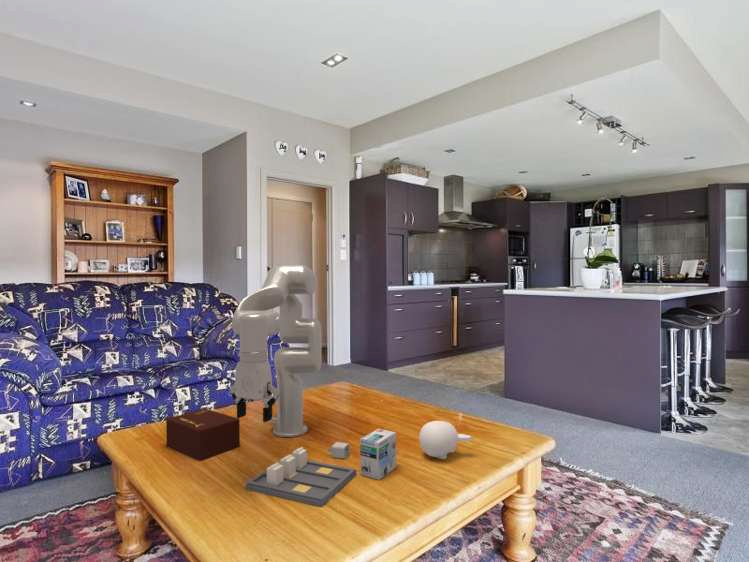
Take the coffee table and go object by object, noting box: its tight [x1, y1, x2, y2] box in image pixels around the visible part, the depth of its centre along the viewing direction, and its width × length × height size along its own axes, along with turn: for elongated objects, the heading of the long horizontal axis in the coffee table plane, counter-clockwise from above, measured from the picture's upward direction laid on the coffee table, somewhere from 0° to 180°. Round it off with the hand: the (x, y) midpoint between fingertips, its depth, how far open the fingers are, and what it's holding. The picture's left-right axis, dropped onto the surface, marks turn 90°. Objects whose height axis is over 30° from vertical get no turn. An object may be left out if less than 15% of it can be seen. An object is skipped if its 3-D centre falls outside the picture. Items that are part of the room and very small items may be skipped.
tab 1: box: [266, 461, 283, 486], centre depth 123 cm, size 3×3×5 cm
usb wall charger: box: [325, 441, 350, 460], centre depth 145 cm, size 4×7×4 cm, turn 70°
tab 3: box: [291, 446, 308, 469], centre depth 134 cm, size 3×3×5 cm
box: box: [165, 408, 241, 462], centre depth 154 cm, size 21×16×10 cm
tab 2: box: [279, 454, 296, 477], centre depth 129 cm, size 3×3×5 cm
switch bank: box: [244, 459, 357, 508], centre depth 127 cm, size 24×20×2 cm
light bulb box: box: [359, 428, 397, 481], centre depth 134 cm, size 11×7×11 cm, turn 148°
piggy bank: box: [418, 420, 472, 460], centre depth 145 cm, size 12×12×15 cm
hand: (254, 418), depth 126 cm, fingers open, 8 cm apart
